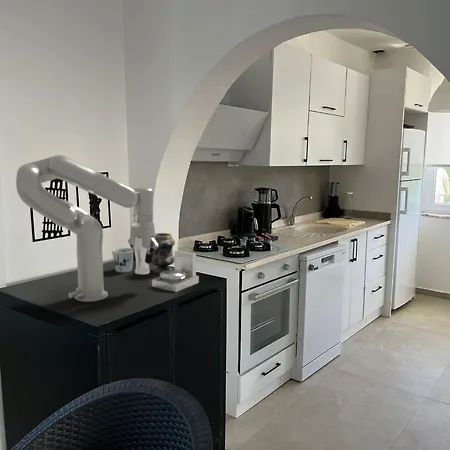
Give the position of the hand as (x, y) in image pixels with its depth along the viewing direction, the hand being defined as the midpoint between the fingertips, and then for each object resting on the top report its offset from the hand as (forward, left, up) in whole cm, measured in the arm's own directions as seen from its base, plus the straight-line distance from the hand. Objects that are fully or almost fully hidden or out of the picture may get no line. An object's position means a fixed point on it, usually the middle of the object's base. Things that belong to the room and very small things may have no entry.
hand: (142, 261), depth 188 cm
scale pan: (+13, -5, -8) cm, 17 cm away
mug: (+21, +31, -13) cm, 39 cm away
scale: (+15, -5, -13) cm, 20 cm away
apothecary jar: (+29, +14, -13) cm, 34 cm away
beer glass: (0, 0, -5) cm, 5 cm away
